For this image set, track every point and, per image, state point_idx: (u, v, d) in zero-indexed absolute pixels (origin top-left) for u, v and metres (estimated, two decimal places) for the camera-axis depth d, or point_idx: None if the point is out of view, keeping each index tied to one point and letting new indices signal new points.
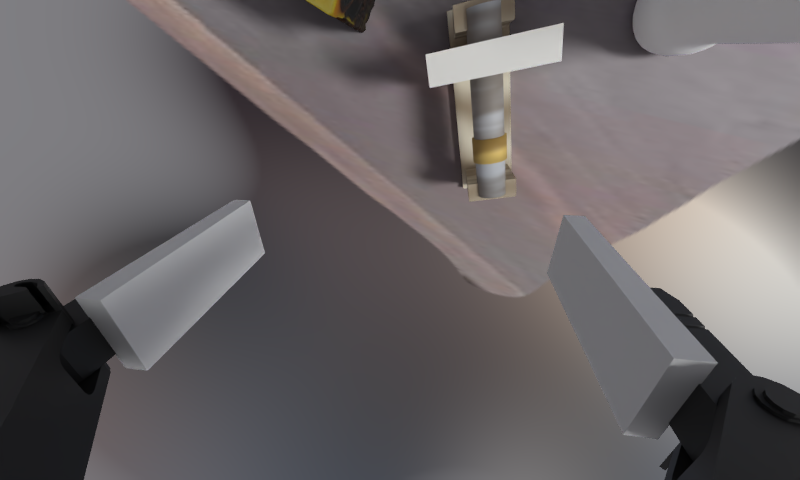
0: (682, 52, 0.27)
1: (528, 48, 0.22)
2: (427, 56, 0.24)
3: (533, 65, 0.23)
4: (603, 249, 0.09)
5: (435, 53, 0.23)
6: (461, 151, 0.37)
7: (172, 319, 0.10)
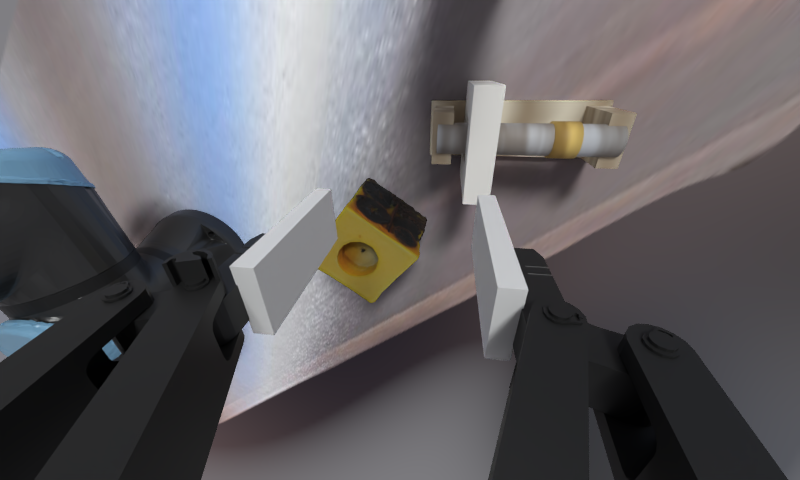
0: None
1: (485, 117, 0.24)
2: (464, 202, 0.28)
3: (500, 112, 0.24)
4: (494, 219, 0.11)
5: (464, 196, 0.28)
6: None
7: (288, 291, 0.11)
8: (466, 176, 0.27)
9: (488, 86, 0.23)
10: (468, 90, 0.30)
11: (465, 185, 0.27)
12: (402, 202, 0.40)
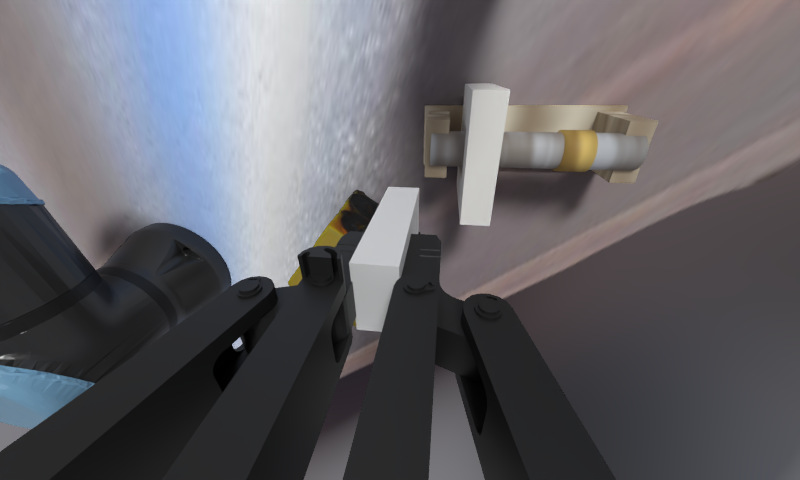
0: None
1: (485, 127, 0.21)
2: (462, 223, 0.25)
3: (504, 122, 0.21)
4: (405, 208, 0.12)
5: (461, 215, 0.24)
6: None
7: None
8: (464, 193, 0.23)
9: (489, 91, 0.20)
10: (465, 94, 0.26)
11: (463, 203, 0.24)
12: None
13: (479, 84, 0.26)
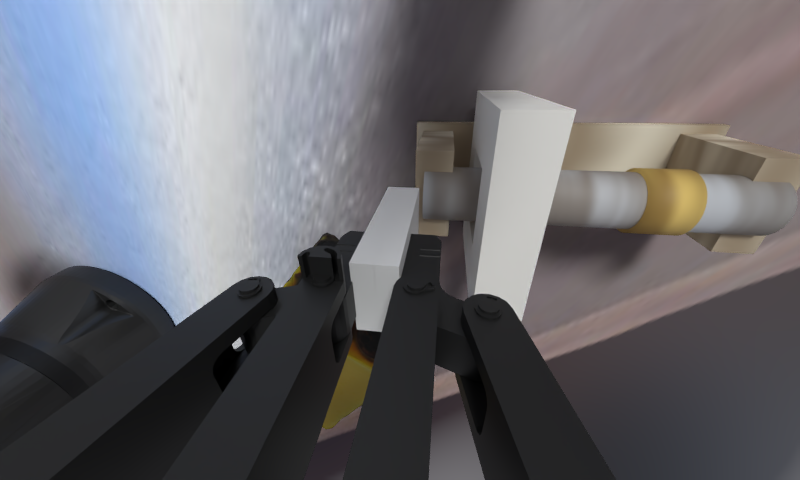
0: None
1: (521, 177, 0.11)
2: None
3: (558, 169, 0.11)
4: (405, 208, 0.12)
5: None
6: None
7: None
8: (478, 281, 0.14)
9: (533, 112, 0.10)
10: (479, 109, 0.17)
11: None
12: None
13: (501, 92, 0.17)
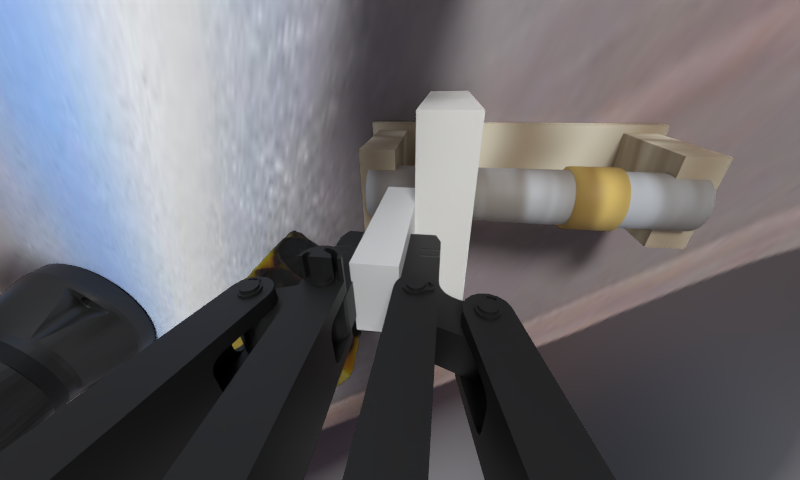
0: None
1: (443, 174, 0.12)
2: None
3: (476, 166, 0.11)
4: (405, 208, 0.12)
5: None
6: None
7: None
8: None
9: (446, 112, 0.11)
10: None
11: None
12: None
13: (448, 93, 0.17)
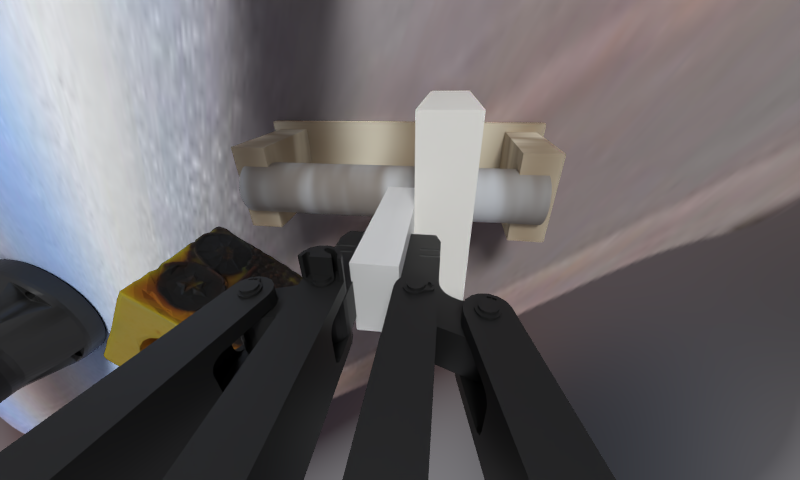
0: None
1: (443, 175, 0.12)
2: None
3: (476, 167, 0.11)
4: (405, 208, 0.12)
5: None
6: None
7: None
8: None
9: (446, 112, 0.10)
10: None
11: None
12: (269, 259, 0.29)
13: (449, 93, 0.17)
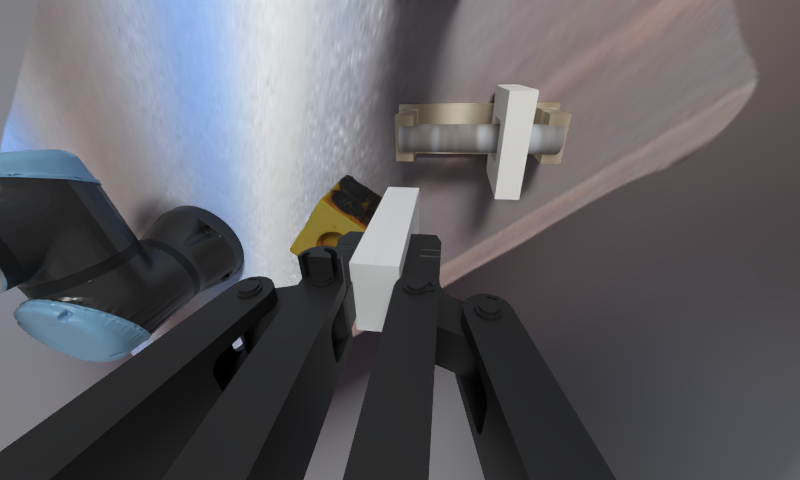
0: None
1: (518, 119, 0.27)
2: (496, 197, 0.31)
3: (533, 115, 0.26)
4: (405, 208, 0.12)
5: (496, 191, 0.30)
6: None
7: None
8: (499, 173, 0.29)
9: (522, 91, 0.26)
10: (498, 94, 0.32)
11: (497, 181, 0.30)
12: (378, 196, 0.44)
13: (509, 85, 0.32)
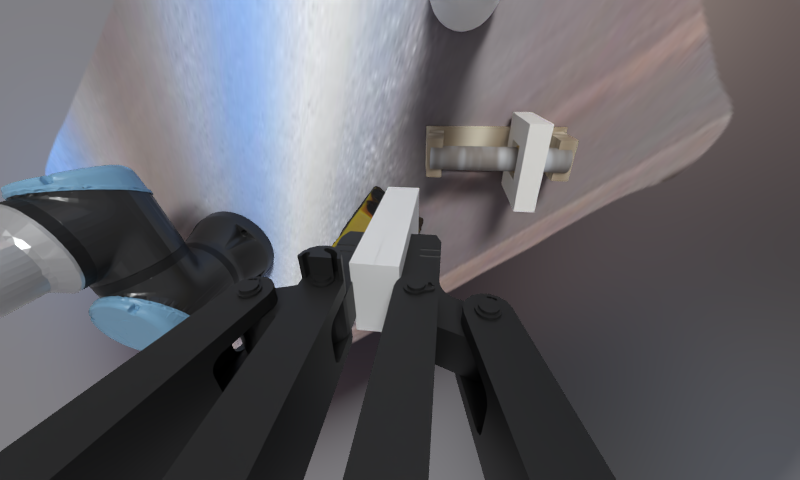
0: None
1: (536, 146, 0.32)
2: (514, 210, 0.36)
3: (548, 143, 0.32)
4: (405, 208, 0.12)
5: (515, 205, 0.36)
6: None
7: None
8: (518, 190, 0.35)
9: (540, 125, 0.31)
10: (515, 121, 0.38)
11: (516, 197, 0.35)
12: None
13: (525, 114, 0.38)
